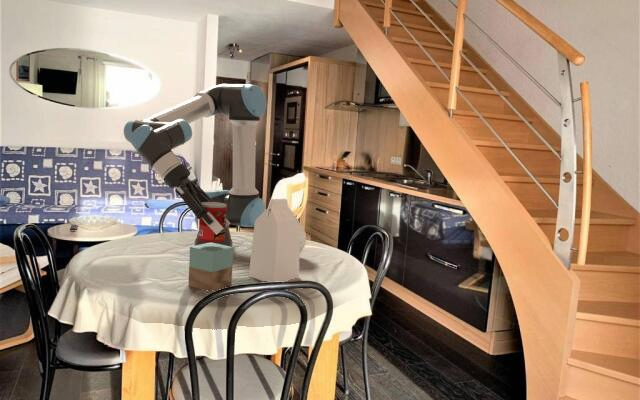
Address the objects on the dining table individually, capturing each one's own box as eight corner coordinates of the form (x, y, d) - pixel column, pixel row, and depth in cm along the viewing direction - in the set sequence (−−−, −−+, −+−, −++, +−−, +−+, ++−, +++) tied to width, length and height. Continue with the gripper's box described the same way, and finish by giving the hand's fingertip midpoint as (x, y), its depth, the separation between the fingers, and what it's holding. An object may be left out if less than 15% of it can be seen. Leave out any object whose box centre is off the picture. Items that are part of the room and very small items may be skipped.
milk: (274, 270, 168) (278, 196, 164) (299, 278, 160) (304, 200, 157) (248, 276, 158) (252, 197, 155) (273, 284, 151) (278, 202, 148)
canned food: (219, 243, 140) (220, 206, 139) (193, 240, 141) (195, 203, 140) (229, 239, 147) (231, 203, 146) (204, 236, 149) (206, 201, 148)
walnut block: (209, 279, 152) (210, 261, 151) (231, 285, 147) (232, 266, 147) (188, 285, 144) (189, 266, 144) (210, 292, 140) (211, 272, 139)
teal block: (210, 261, 151) (211, 242, 151) (232, 266, 147) (233, 247, 146) (189, 266, 144) (190, 246, 143) (212, 272, 139) (213, 252, 138)
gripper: (175, 176, 153) (223, 230, 154) (149, 182, 133) (204, 244, 134) (192, 161, 152) (240, 215, 154) (168, 164, 132) (224, 226, 133)
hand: (223, 229), depth 144 cm, fingers closed on canned food, 8 cm apart
